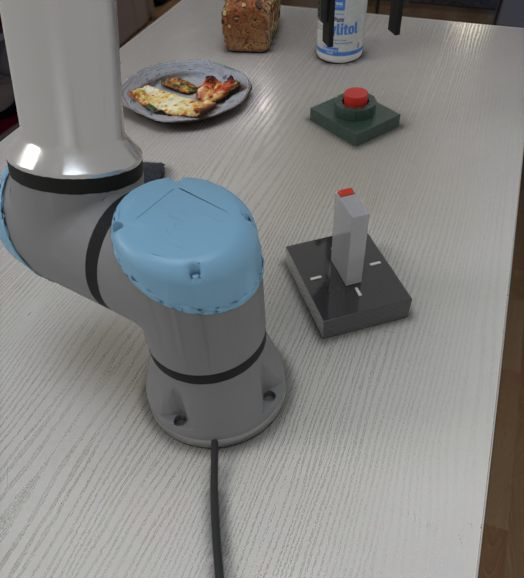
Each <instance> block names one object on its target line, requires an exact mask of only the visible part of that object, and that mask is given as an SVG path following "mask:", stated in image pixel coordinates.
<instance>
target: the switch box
mask: <svg viewBox="0 0 524 578" xmlns="http://www.w3.org/2000/svg"><path fill="white" fill-rule="evenodd" d="M309 121H311V122H313V123H315V124H316V125H318V126H319V127H322V128H323V129H325V130H327V131H329V132H330V133H332V134H334V135H335V136H337V137H338V138H340V139H342V140H344V141H346V142H347V143H348V144H351V145H352V146H354V147H358V146H360V145H363V144H365V143H366V142H369V141H371V140H373V139H376V138H377V137H379V136H381V135H384V134H386V133H387V132H390V131H392V130H394V129H396V128H398V127H400V122H401V113H399V112H397V111H395V110H394V109H392V108H389V107H387V106H385V105H383V104H382V103H379V102H378V101H377V99H376V97H375V96H374V95H373V94H371V93H369V92H368V101H367V105H365V106H363V107H349V106H346V105H344V92H343V93H340V94H338V95H337V96H335V97H333V98H330V99H328V100H325V101H322V102H320V103H318V104H316V105H314V106H311V107H310V108H309Z"/></svg>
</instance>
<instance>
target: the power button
mask: <svg viewBox="0 0 524 578" xmlns="http://www.w3.org/2000/svg"><path fill="white" fill-rule="evenodd" d="M343 93H344V105H346V106H349V107H363V106H365V105H367V101H368V93H369V91H368V89H366V88H364V87H358V86H354V87H349V88H347V89H345V90H344V92H343Z"/></svg>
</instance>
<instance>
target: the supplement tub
mask: <svg viewBox="0 0 524 578" xmlns="http://www.w3.org/2000/svg"><path fill="white" fill-rule="evenodd" d="M368 1H369V0H335V18H334V40H333V47H329V48H328V46H327V45H326V44H325V43H324V42H323V41H322V37H323V23H322V22H321V21H320V20H319V19H318V18H317V24H316V47H315V48H316V54H317V56H318V58H320V59H321V60H323V61H325V62H329V63H333V64H344V63H349V62H352V61H356V60H358V59H359V58H360V57H361V55H362V54H363V50H364V42H365V31H366V21H367V12H368Z"/></svg>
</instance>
